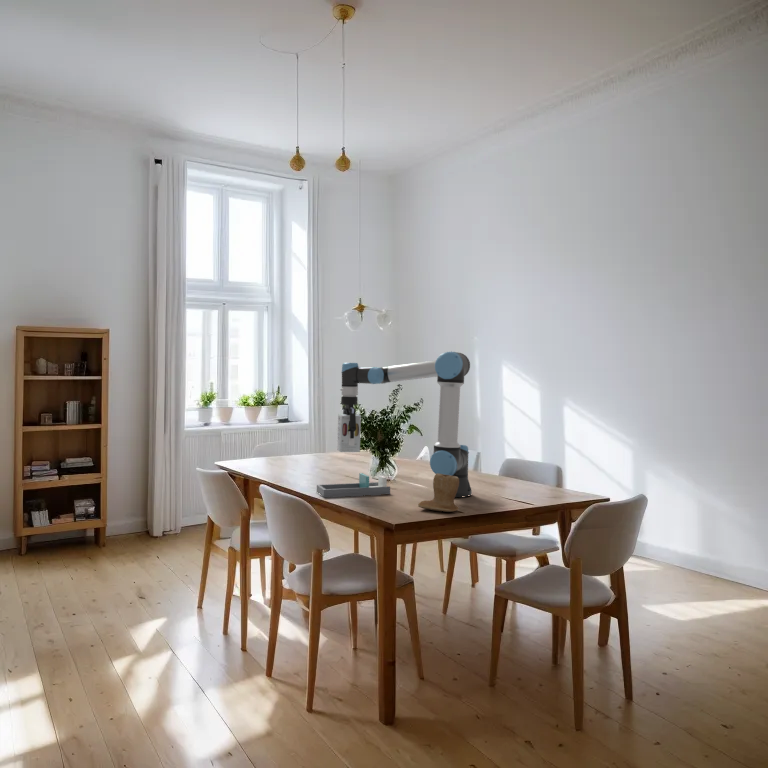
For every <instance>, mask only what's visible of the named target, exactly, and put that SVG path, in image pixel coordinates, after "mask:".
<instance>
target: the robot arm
mask: <svg viewBox="0 0 768 768" xmlns="http://www.w3.org/2000/svg"><path fill="white" fill-rule="evenodd" d="M470 369H471V362H470V359H469V357H468V356H467V355H466V354H464V353H461V352H459V351H458V352H456V351H452V350H451V351H446V352H445V351H444V352H443V353H440V355H438V356H437V358H436V359H435V360H427V361H420V362H413V363H406V364H405V363H404V364H396V365H390V366H383V367H382V366H381V367H377V366H371V367H369V366H368V367H366V366H362V367H361V366H359V363H358V362H343V363H342V366H341V388H340V389H339V390H340V391H341V396H340V397H341V401H340V404H342V405H344V406H343V407H342V410H343V411H342V414H345V415H350V421H349V430H348V431H349V433H348V446H354V442H355V430H356V416H355V415H356V413H357V412H356V408H354V406H355V405H358V395H359V384H364V385H365V384H366V385H367V384H371V385H378V384H379V385H380V384H387V383H388V384H389V383H393V382H404V381H411V380H412V381H413V380H421V379H428V378H436V379H437V381H436V383H437V384H438V385H439V387H440V390H439V405H438V406H439V408H438V409H439V410H438V426H437V427H438V428H437V440H436V442H435V443H434V444H433V453H432V455H431V457H430V460H429V465H430V469H431V471H432V472H433V473H434V474H435V475H436V474H437V473H439V474H445V475H451V476H456V477H458V478H459V486H458V490H457V493H456V495H455V497H462V496H468V495H471V494H472V491H473V490H472V487H471V485H470V481H469V453H470V452H469V447H468V446H467V445H465V444H460V443H459V442H458V437H459V436H458V435H459V416H460V415H459V414H460V397H461V387H462V386H463V385H464V384H465V377H466V375H468V373H469V372H470ZM472 495H473V494H472Z"/></svg>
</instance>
